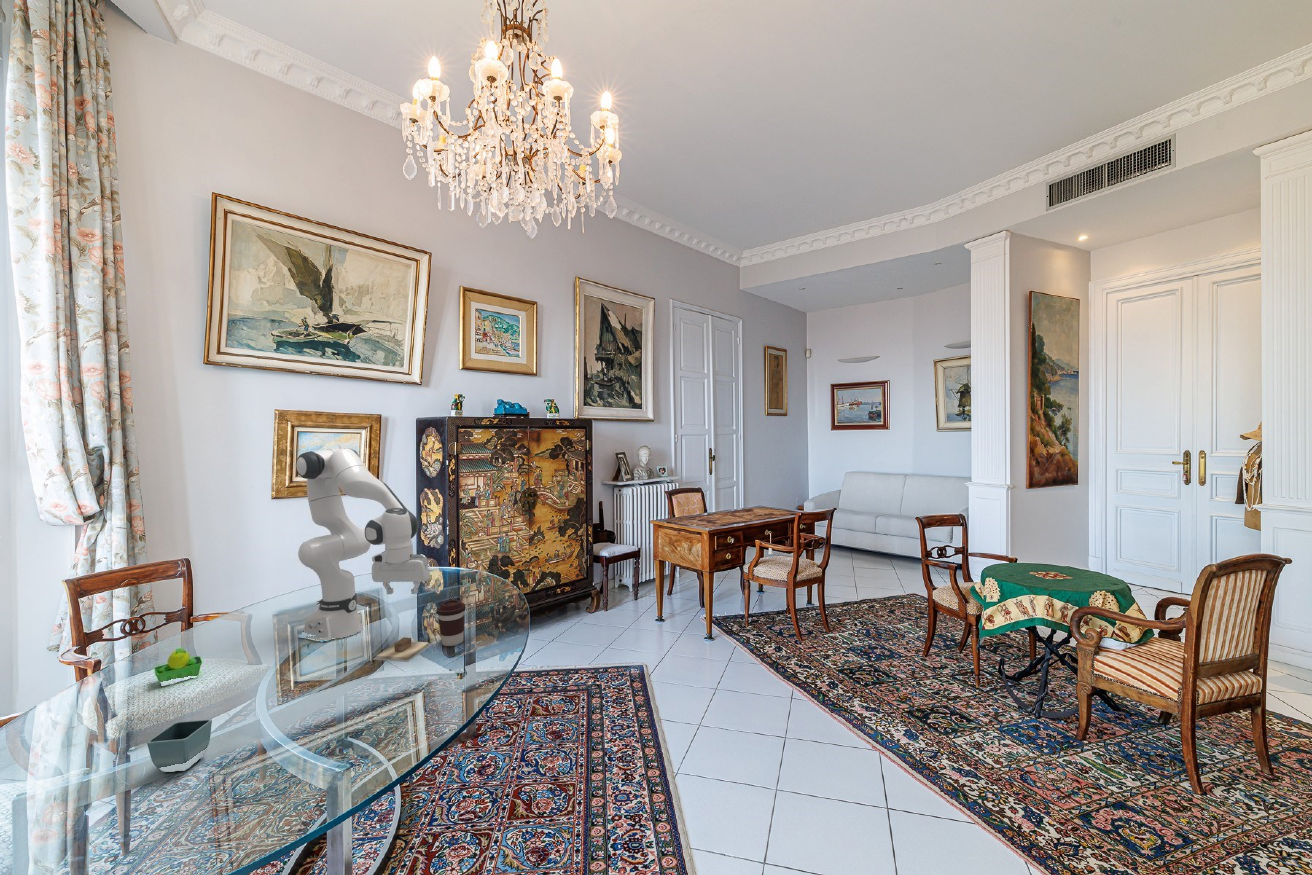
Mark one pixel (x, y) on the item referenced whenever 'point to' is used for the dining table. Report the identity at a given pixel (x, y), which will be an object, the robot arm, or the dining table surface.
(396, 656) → the lid
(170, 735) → the flower pot
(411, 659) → the mat
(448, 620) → the coffee cup
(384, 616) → the dining table surface
